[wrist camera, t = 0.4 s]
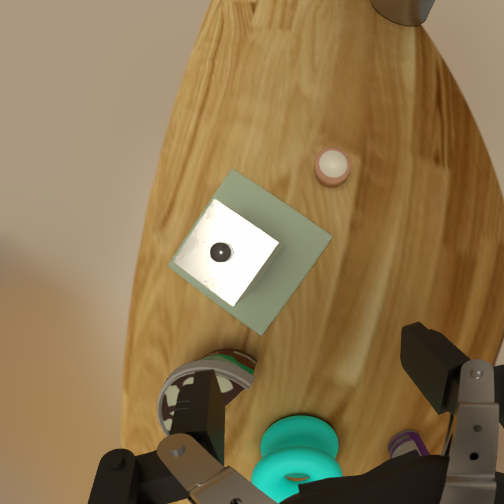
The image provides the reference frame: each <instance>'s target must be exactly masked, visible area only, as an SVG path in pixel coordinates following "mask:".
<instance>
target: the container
mask: <svg viewBox="0 0 504 504" xmlns="http://www.w3.org/2000/svg"><path fill="white" fill-rule="evenodd" d="M415 449H417V451H418V453H419V454H420V456H423V455H430V454H429V452H428V450H427V449H426V447H425V445H424V443H423V441H422V440H421V438H420V436H419V434H418V433H417V432H416V431H414V430H404V431H401V432H399V433H397V434H396V435H395V436H394V437H393V438H392V439H391V440H390V442H389V444H388V451H389V454H390V456H391V458H394V457H397V456H400V455H402V454H405V453H407V452H410V451H412V450H415Z"/></svg>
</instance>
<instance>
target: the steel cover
mask: <svg viewBox="0 0 504 504" xmlns="http://www.w3.org/2000/svg"><path fill="white" fill-rule="evenodd" d="M284 247H285V244H284V243H283V242H281V241H280V240H278V239H277V238H275V237H274V236H273V235H271V234H270V233H268V232H267V231H265V230H264V229H262V228H261V227H260V226H258V225H257V224H255V223H254V222H252V221H251V220H249V219H248V218H247V217H245V216H244V215H242V214H241V213H239V212H237V211H236V210H234V209H232V208H230V207H229V206H227V205H225V204H223V203H222V202H220V201H218V200H216V199H214V200H213V202H212V203H211V205H210V206H209V208H208V209H207V211H206V212H205V214H204V215H203V217H202V218H201V220H200V221H199V223H198V224H197V226H196V227H195V229H194V230H193V232H192V233H191V235H190V236H189V238H188V239H187V241H186V242H185V244H184V245H183V247H182V249H181V250H180V252H179V253H178V255H177V256H176V258H175V260H174V261H173V262H175V263H176V264H177V265H178V266H180V267H181V268H182V269H184V270H185V271H186V272H187V273H189V274H190V275H191V276H193V277H194V278H195V279H197V280H198V281H199V282H201V283H202V284H203V285H205V286H206V287H207V288H208V289H210V290H211V291H212V292H214V293H215V294H216V295H218V296H219V297H220V298H222V299H223V300H225V301H226V302H227V303H229V304H230V305H231V306H235V305H236V304H237V303H239V302H240V301H241V300H242V299H244V298H245V297H246V296H248V295H249V294H250V293H251V292H253V291H254V289H255V288H256V286H257V285H258V284H259V282H260V281H261V279H262V278H263V277H264V275H265V274H266V272H267V271H268V269H269V268H270V267H271V265H272V264H273V262H274V261H275V260H276V258H277V257H278V255H279V254H280V252H281V251H282V250H283V248H284Z"/></svg>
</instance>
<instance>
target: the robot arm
mask: <svg viewBox="0 0 504 504" xmlns="http://www.w3.org/2000/svg"><path fill="white" fill-rule="evenodd" d="M434 1H435V0H371V2H372V5H373V6H374V8H375V9H376V10H377V11H378V12H379V13H380V14H381V15H383V16H384V17H386V18H387V19H389V20H391V21H393V22H396V23H399V24H402V25H407V26H416V25H420V24H422V23H424V22H425V21H426V19H427V17H428V14H429V12H430V10H431V8H432V6H433V4H434ZM400 359H401V364H402V366H403V369H404V370H405V371H406V373H407V374H408V375H409V376H410V378H411V379H412V380H413V382H414V383H415V384H416V386H417V387H418V388H419V390H420V391H421V392H422V393H423V395H424V396H425V397H426V399H427V400H428V401H429V403H430V404H431V405H432V407H433V408H434V409H435V411H436V412H437V413H438V415H440V414H442V413H444V412H447V411H449V412H450V417H449V421H448V427H447V432H446V437H445V442H444V446H443V451H442V455H423V456H420V454H419V453H418V451H417V449H415V450H412V451H410V452H407V453H405V454H402V455H400V456H397V457H394V458H391V459H389V460H387V461H386V462H384V463H382V464H381V465H379V466H377V467H376V468H374V469H372V470H370V471H369V472H367V473H365V474H363V475H357V476H345V477H330V478H325V479H321V480H316V481H312V482H307V483H302V484H298V488H299V492H298V493H296V494H294V495H292V496H290V497H288V498H286V499H284V500H283V501H281V502H280V503H277V502H276V501H274V500H273V499H272V498H270V497H269V496H268V495H266V494H265V493H264V492H262V491H261V490H260V489H258V488H257V487H256V486H255V485H253V484H252V483H251V482H250V481H248V480H247V479H246V478H245V477H243V476H242V475H241V474H240V473H238V472H237V471H236V470H235V469H234V468H232V467H230V466H227V467H226V468H225V467H224V435H225V405H224V399H223V396H222V393H221V390H220V386H219V383H218V380H217V377H216V374H215V371H214V369H209V370H202V371H195V374H194V380H193V384H185V385H184V386H183V388H182V389H181V390H180V391H179V393H178V396H177V401H176V402H177V403H176V405H175V411H174V415H173V419H172V424H171V429H170V433H169V436H168V437H166V438H164V439H163V440H162V441H161V442H160V443H159V445H158V447H157V450H155V451H153V452H150V453H146V454H142V455H138V456H134V454H133V453H132V452H131V451H129V450H127V449H114V450H112V451H109V452H108V453H106V454H105V455H104V456H103V457H102V458H101V460H100V463H99V466H98V469H97V473H96V476H95V479H94V483H93V487H92V490H91V493H90V497H89V501H88V504H168V503H172V502H175V501H179V500H183V499H186V498H187V500H188V501H189V502H190V503H191V504H504V473H500V472H496V471H495V469H496V460H497V448H498V429H499V422H500V423H501V425H502V426H503V428H504V365H499V366H494V367H492V365H491V364H490V363H488V362H487V361H484V360H480V359H474V360H470V359H469V358H468V357H467V356H466V355H465V354H464V353H463V352H462V351H460V350H459V349H458V348H457V347H456V346H455V345H453V343H452V342H450V341H449V340H448V339H447V338H446V337H445V336H444V335H443V334H442V333H440V332H437V331H435V330H432V329H430V330H428V329H427V328H426V327H425V326H424V325H423V324H421V323H420V322H416V323H413V324H410V325H407V326H404V327H403V328H402V332H401V354H400Z"/></svg>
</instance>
